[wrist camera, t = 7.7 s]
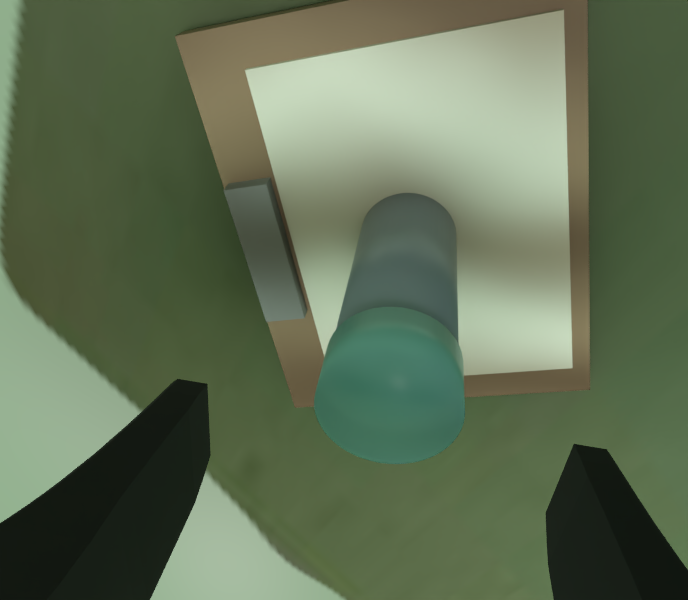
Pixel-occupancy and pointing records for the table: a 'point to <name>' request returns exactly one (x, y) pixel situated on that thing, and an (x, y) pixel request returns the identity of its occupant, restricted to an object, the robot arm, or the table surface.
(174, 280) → the table surface
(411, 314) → the marker
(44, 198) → the table surface
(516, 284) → the clipboard
